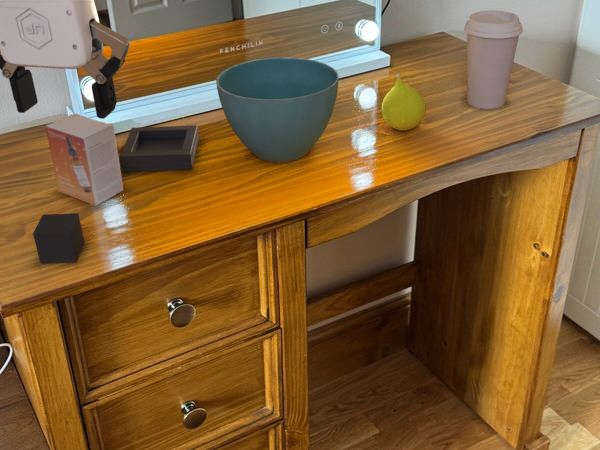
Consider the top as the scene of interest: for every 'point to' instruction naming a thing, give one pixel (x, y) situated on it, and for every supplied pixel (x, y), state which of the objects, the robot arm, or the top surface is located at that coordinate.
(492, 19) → the coffee cup
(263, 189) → the top surface
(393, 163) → the top surface
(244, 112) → the teal bowl
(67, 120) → the small box
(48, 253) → the black cube
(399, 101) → the ornament
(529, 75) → the top surface
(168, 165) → the small dark tray
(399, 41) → the top surface
